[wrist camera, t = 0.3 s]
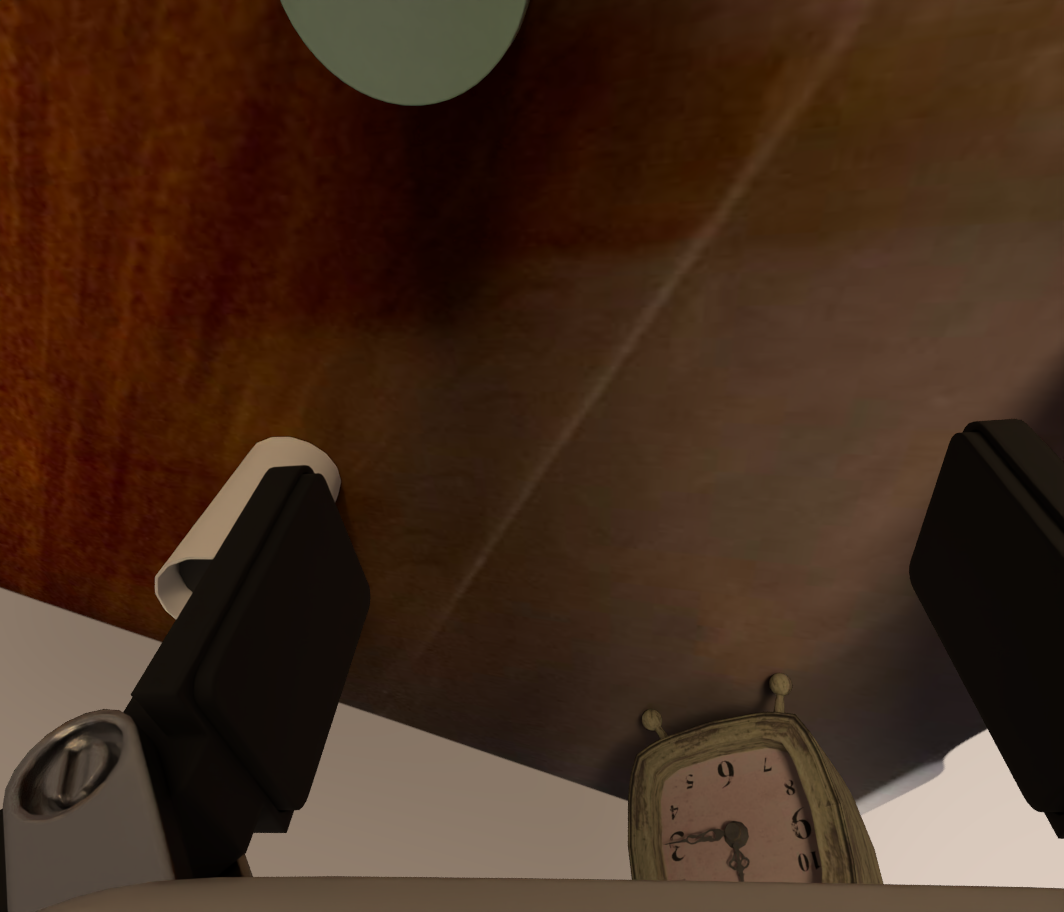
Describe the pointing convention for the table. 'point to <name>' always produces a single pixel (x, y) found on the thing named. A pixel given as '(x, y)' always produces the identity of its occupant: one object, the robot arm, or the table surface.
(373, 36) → the lid
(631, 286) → the table surface
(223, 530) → the white cup
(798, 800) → the tabletop clock
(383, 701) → the table surface
